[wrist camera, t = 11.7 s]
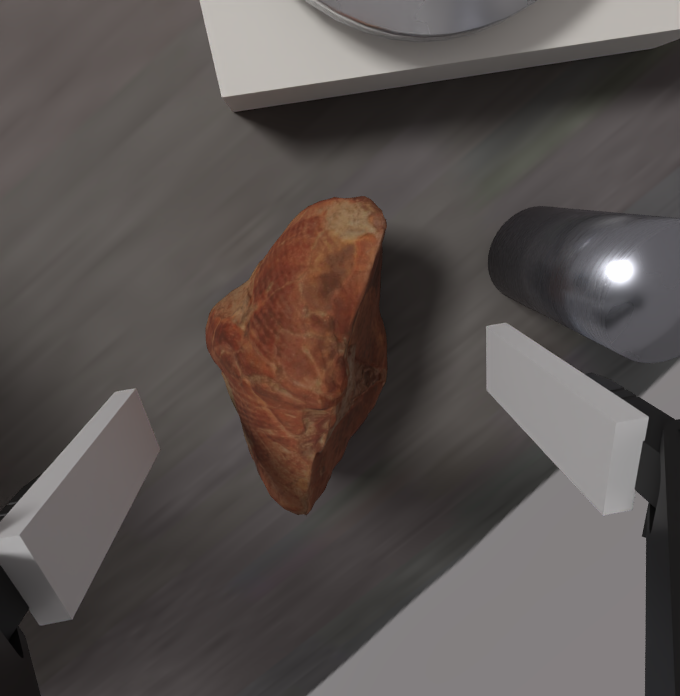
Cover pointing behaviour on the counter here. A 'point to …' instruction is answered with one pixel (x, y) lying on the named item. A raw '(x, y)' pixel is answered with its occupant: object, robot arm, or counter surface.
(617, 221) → the metal cylinder
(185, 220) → the counter surface
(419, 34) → the pan
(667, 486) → the robot arm
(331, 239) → the brown lumpy chunk
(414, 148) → the counter surface
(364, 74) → the scale
